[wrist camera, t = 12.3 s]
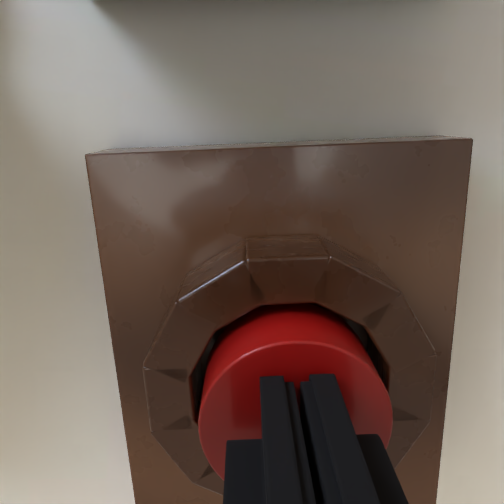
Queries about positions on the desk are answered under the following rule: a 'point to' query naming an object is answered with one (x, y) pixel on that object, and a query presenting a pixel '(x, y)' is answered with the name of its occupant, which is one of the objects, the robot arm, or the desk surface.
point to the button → (285, 373)
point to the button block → (278, 280)
